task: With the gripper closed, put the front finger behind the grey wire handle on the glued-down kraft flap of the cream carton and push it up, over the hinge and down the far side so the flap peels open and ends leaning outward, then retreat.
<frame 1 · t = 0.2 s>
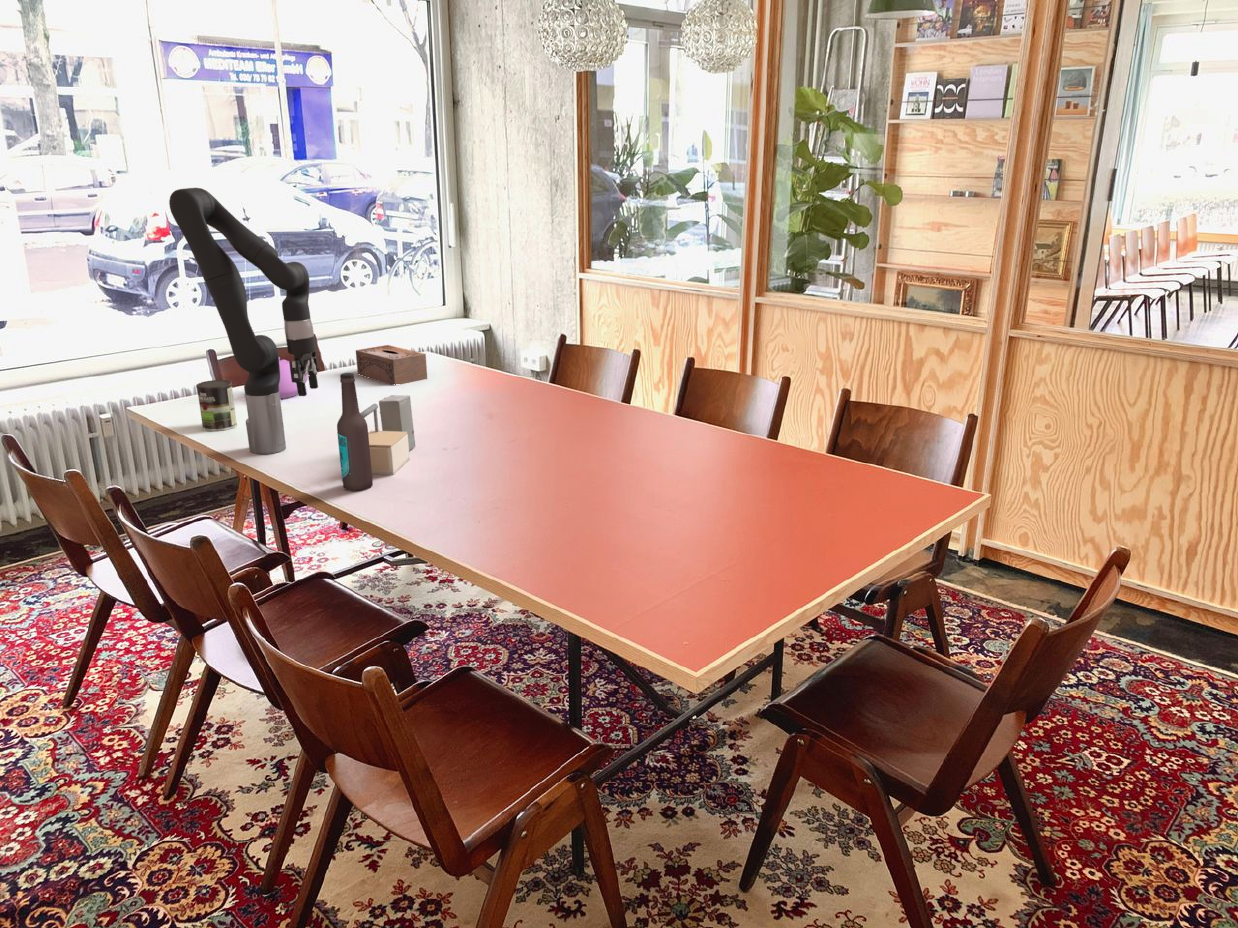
hand: (308, 392, 264), 18 cm above the table, tool pointing down, fingers open, 8 cm apart
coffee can: (220, 427, 294), on the table
beer bottle: (358, 487, 241), on the table
tissue box cover: (392, 378, 360), on the table
carton: (382, 466, 257), on the table
teapot: (285, 395, 333), on the table
skincare box: (399, 450, 271), on the table
flap: (379, 424, 253), point 12 cm above the table, hinge at 0.0°
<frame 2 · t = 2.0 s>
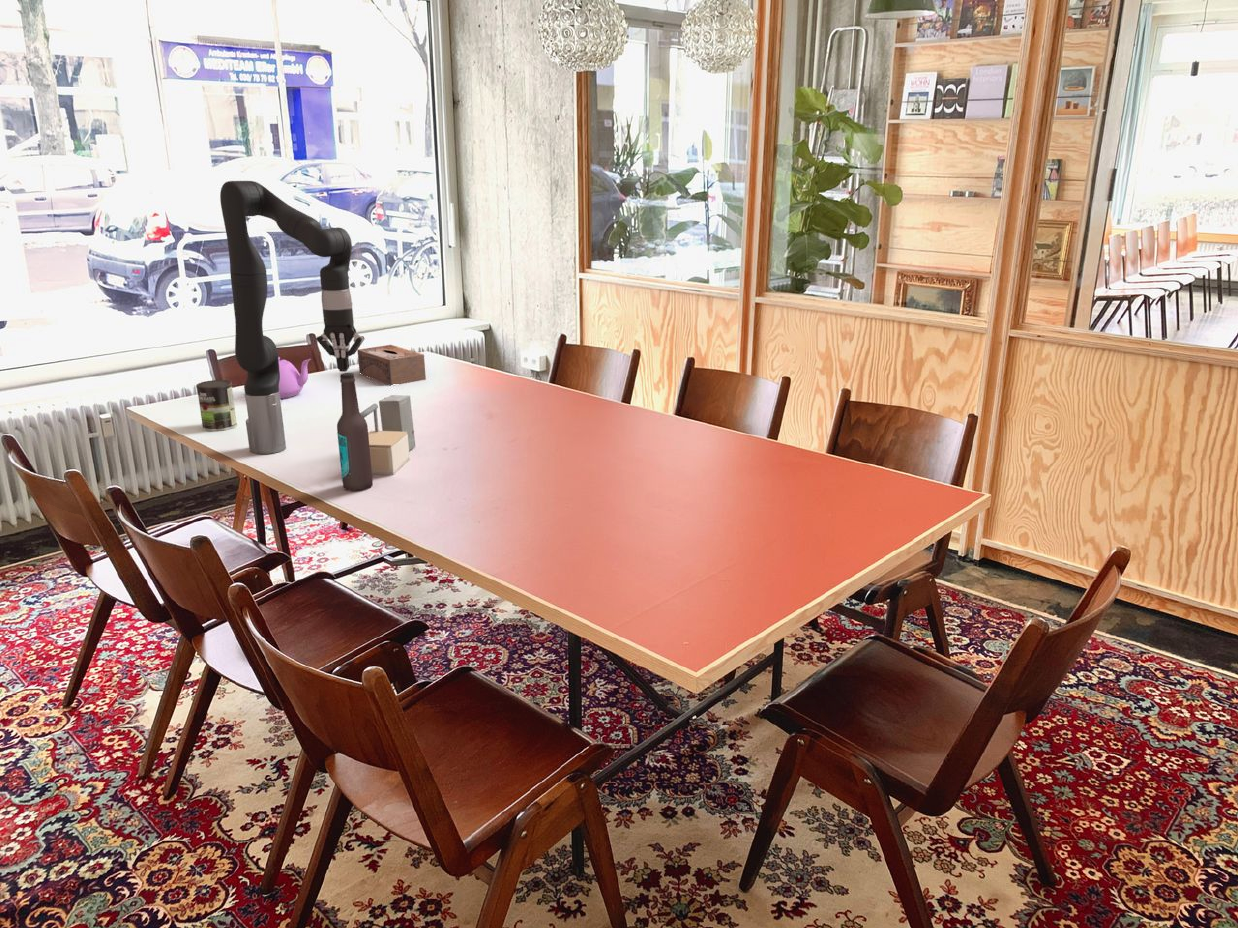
hand: (343, 371, 249), 27 cm above the table, tool pointing down, fingers closed
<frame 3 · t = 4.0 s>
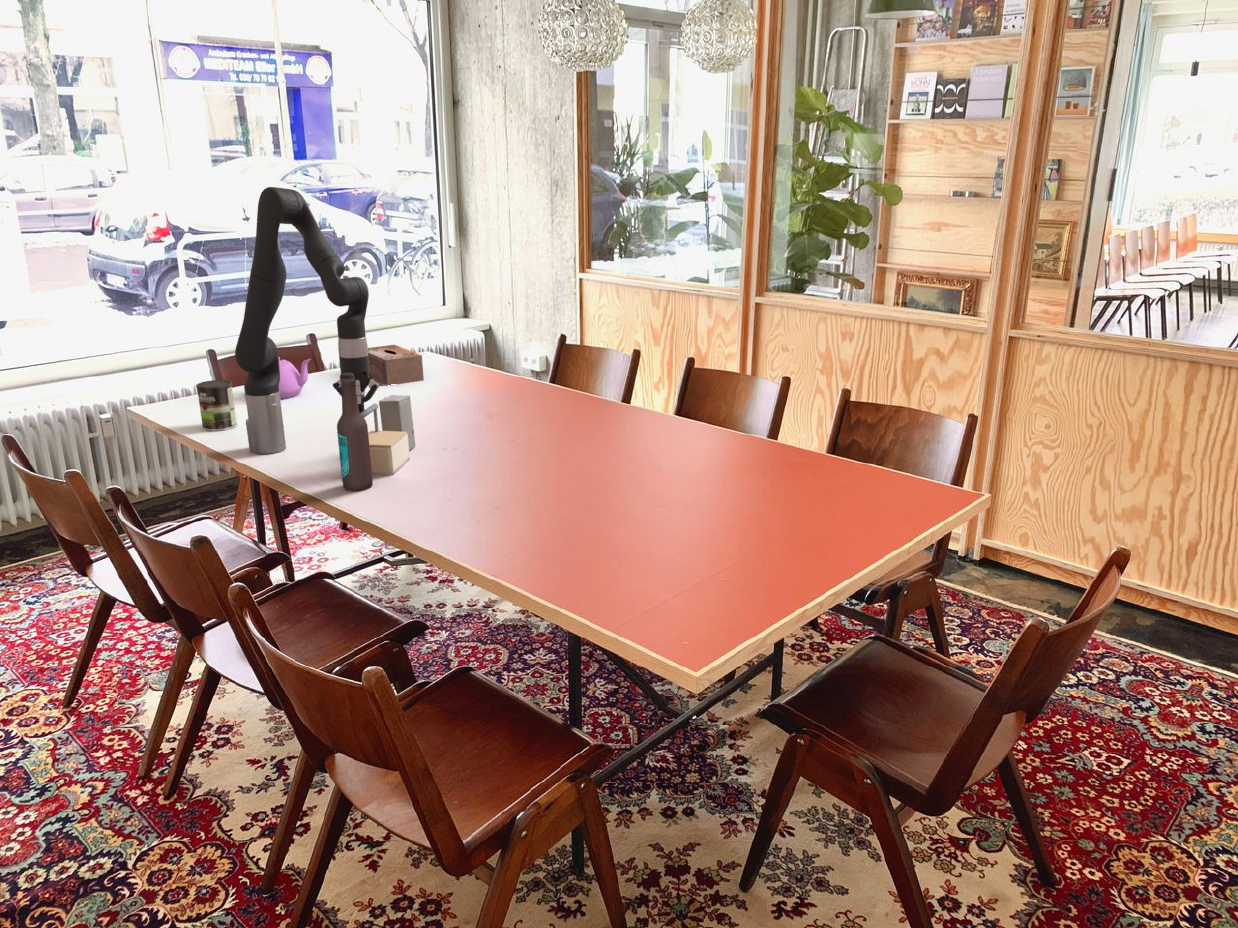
hand: (359, 416, 253), 14 cm above the table, tool pointing down, fingers closed
flap: (379, 424, 253), point 12 cm above the table, hinge at 0.3°, touching gripper
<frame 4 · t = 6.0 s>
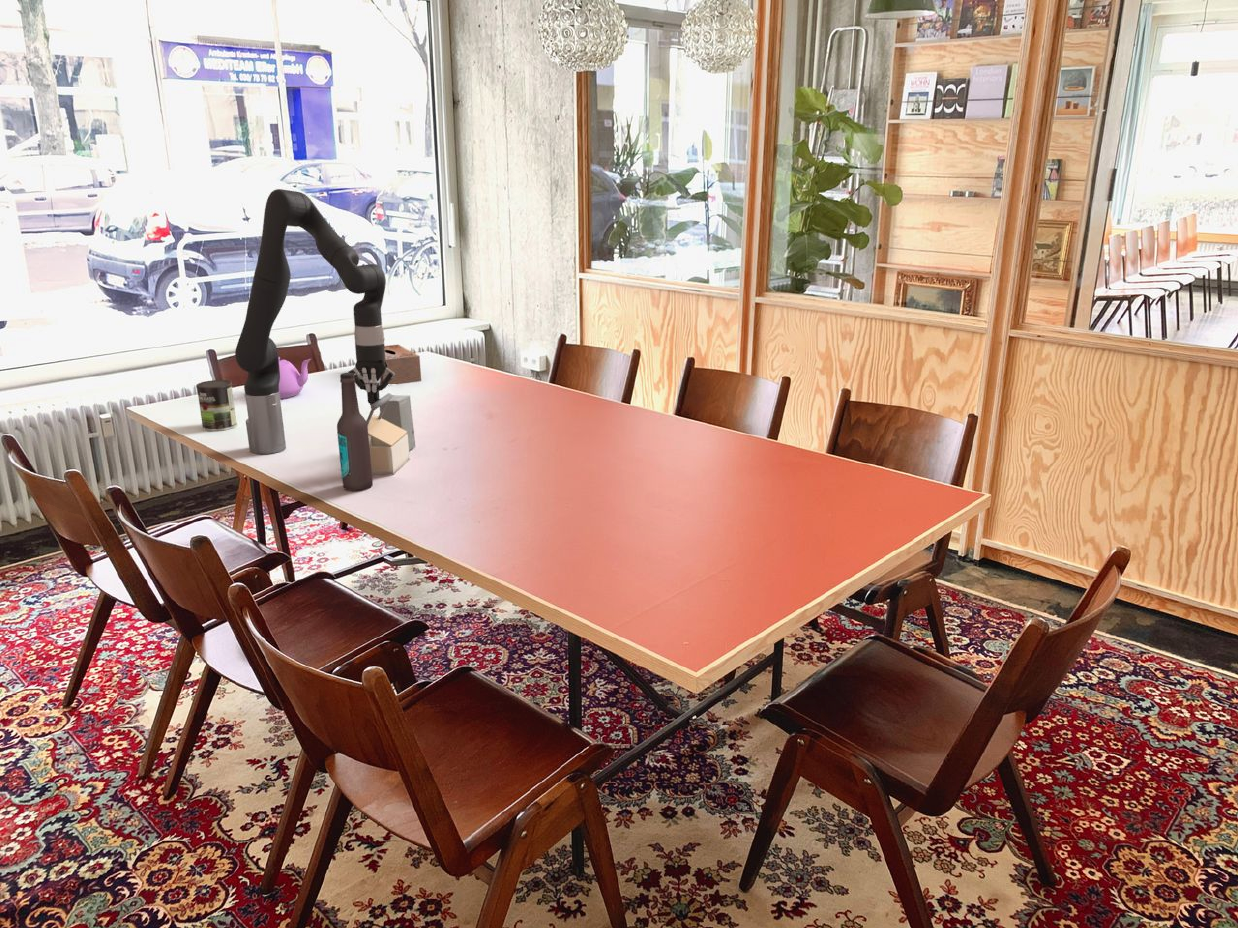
hand: (374, 404, 251), 18 cm above the table, tool pointing down, fingers closed
flap: (387, 417, 252), point 14 cm above the table, hinge at 27.1°, touching gripper
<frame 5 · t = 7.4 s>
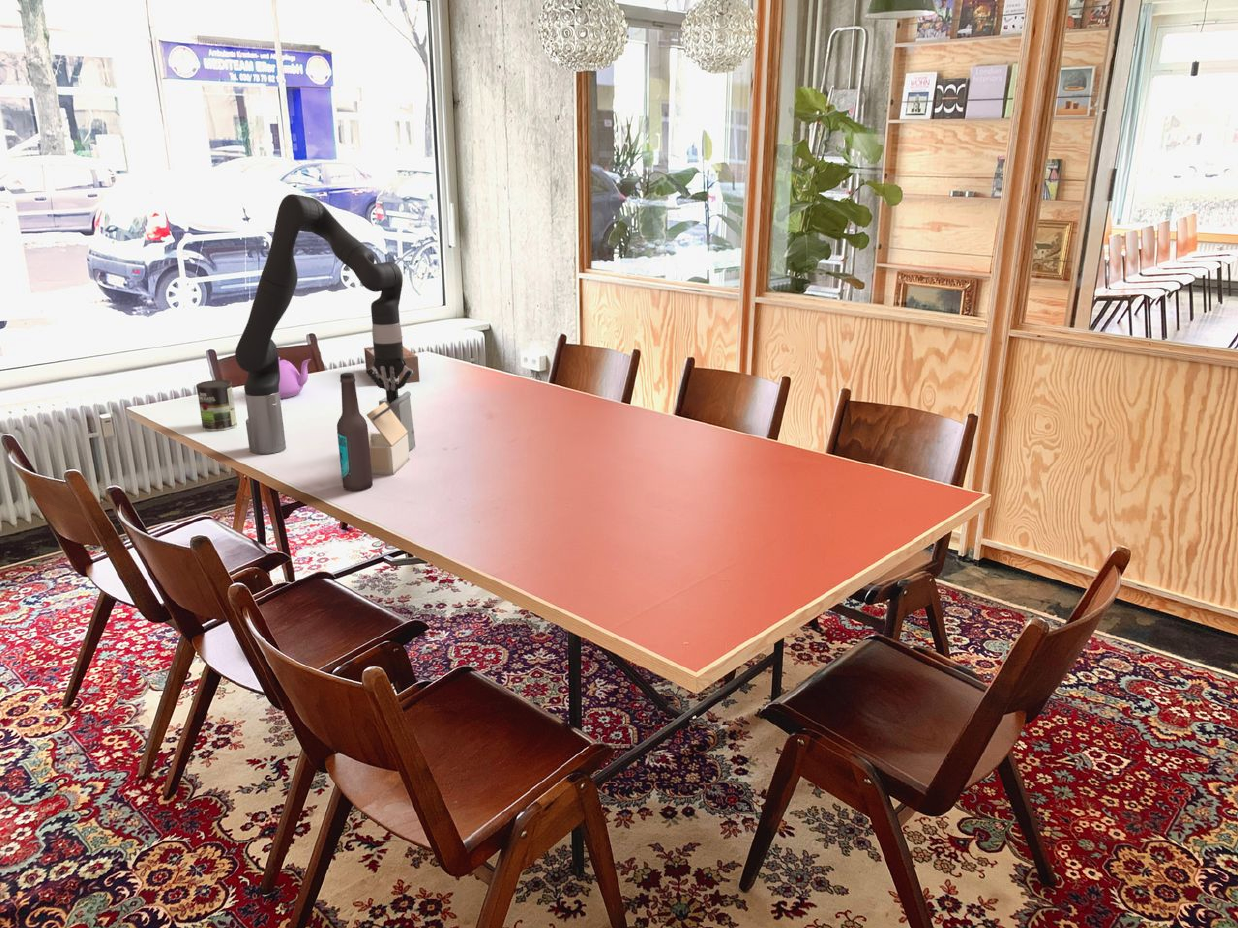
hand: (393, 403, 250), 18 cm above the table, tool pointing down, fingers closed
flap: (398, 415, 251), point 15 cm above the table, hinge at 54.9°, touching gripper
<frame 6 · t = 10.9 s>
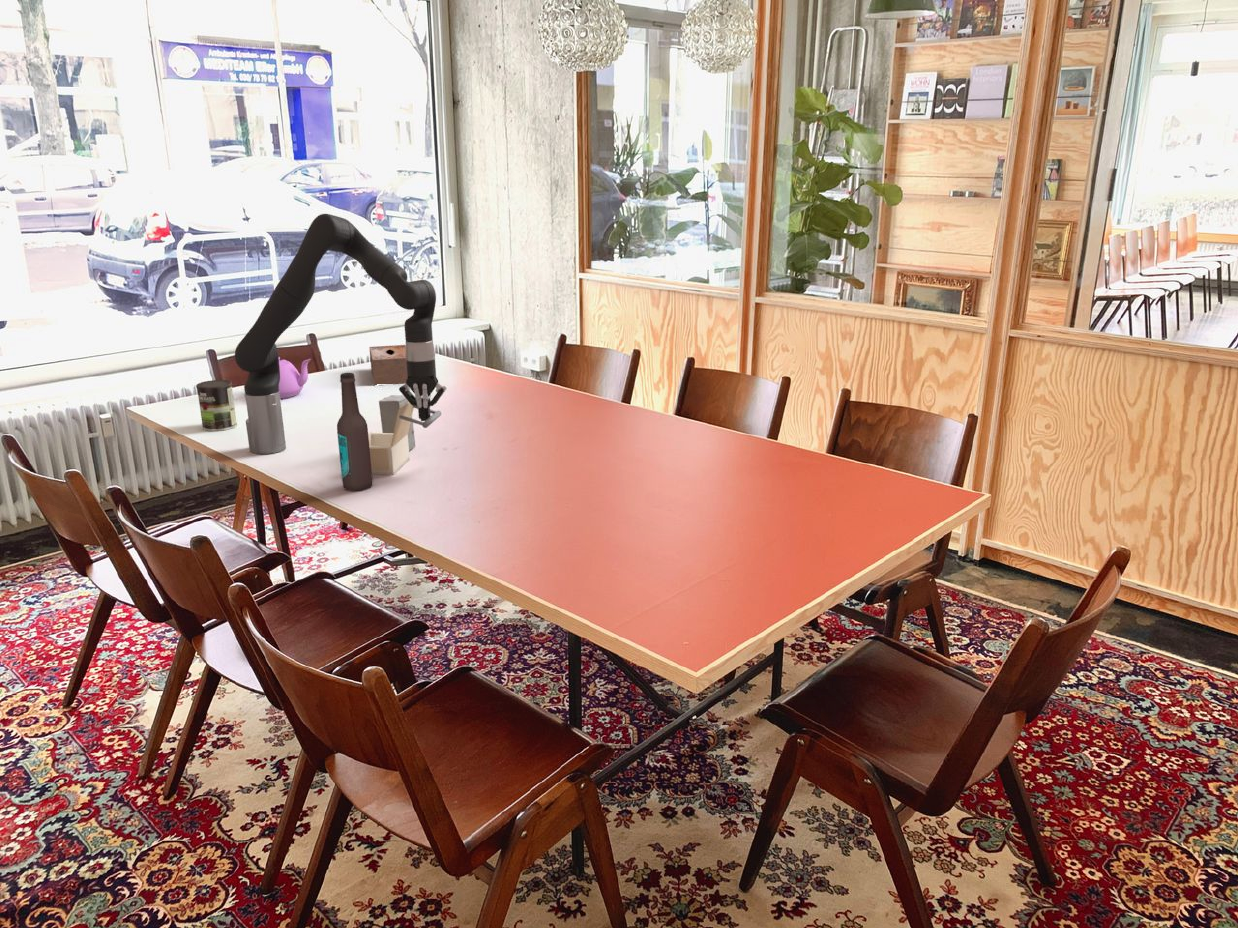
hand: (425, 420, 251), 14 cm above the table, tool pointing down, fingers closed
flap: (417, 426, 252), point 12 cm above the table, hinge at 106.2°, touching gripper
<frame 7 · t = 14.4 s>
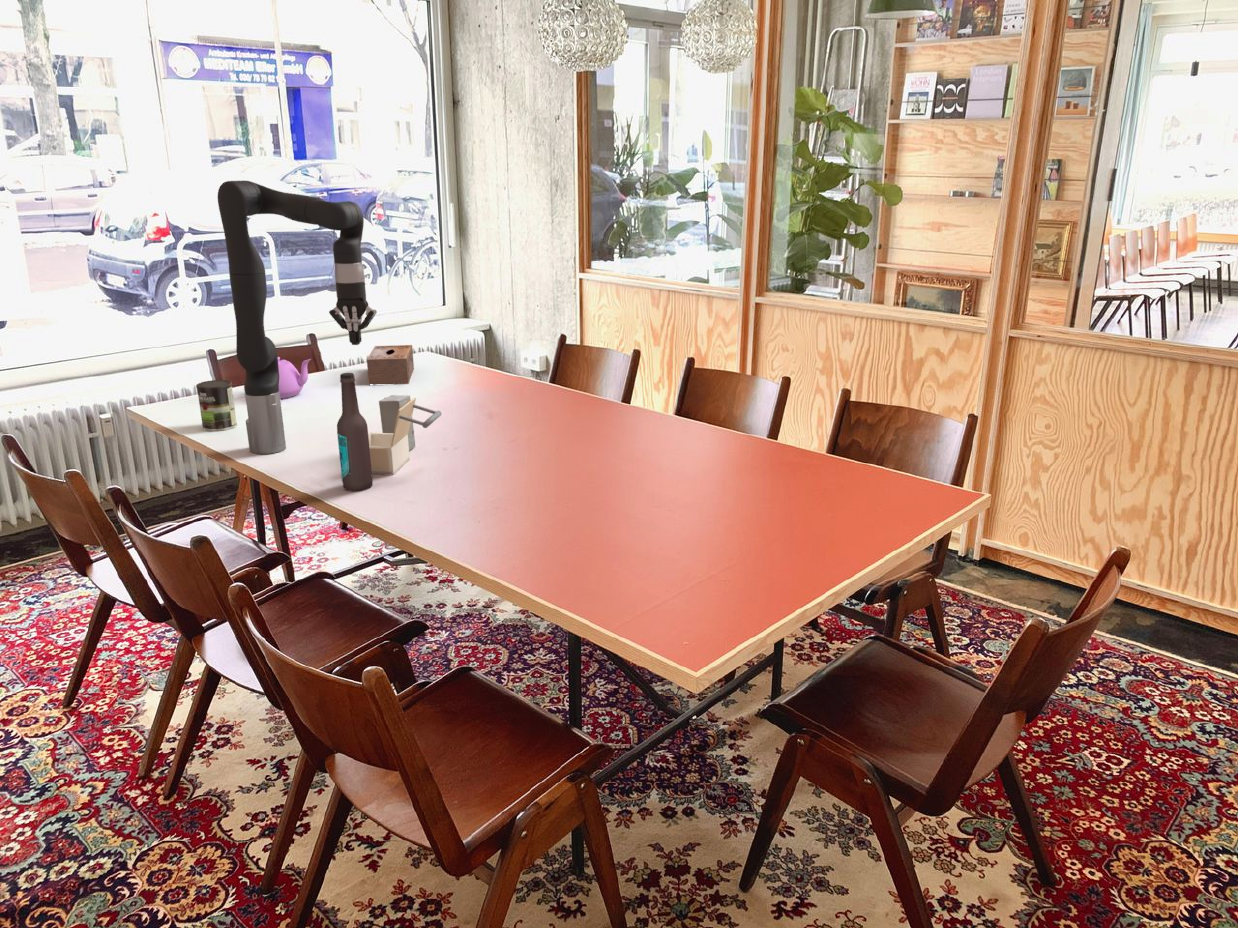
hand: (356, 344, 252), 33 cm above the table, tool pointing down, fingers closed
flap: (417, 426, 252), point 12 cm above the table, hinge at 106.3°
at the end: flap at +106° (first picture: +0°); the gripper is holding nothing; beer bottle moved 0.2 cm from its start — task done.
